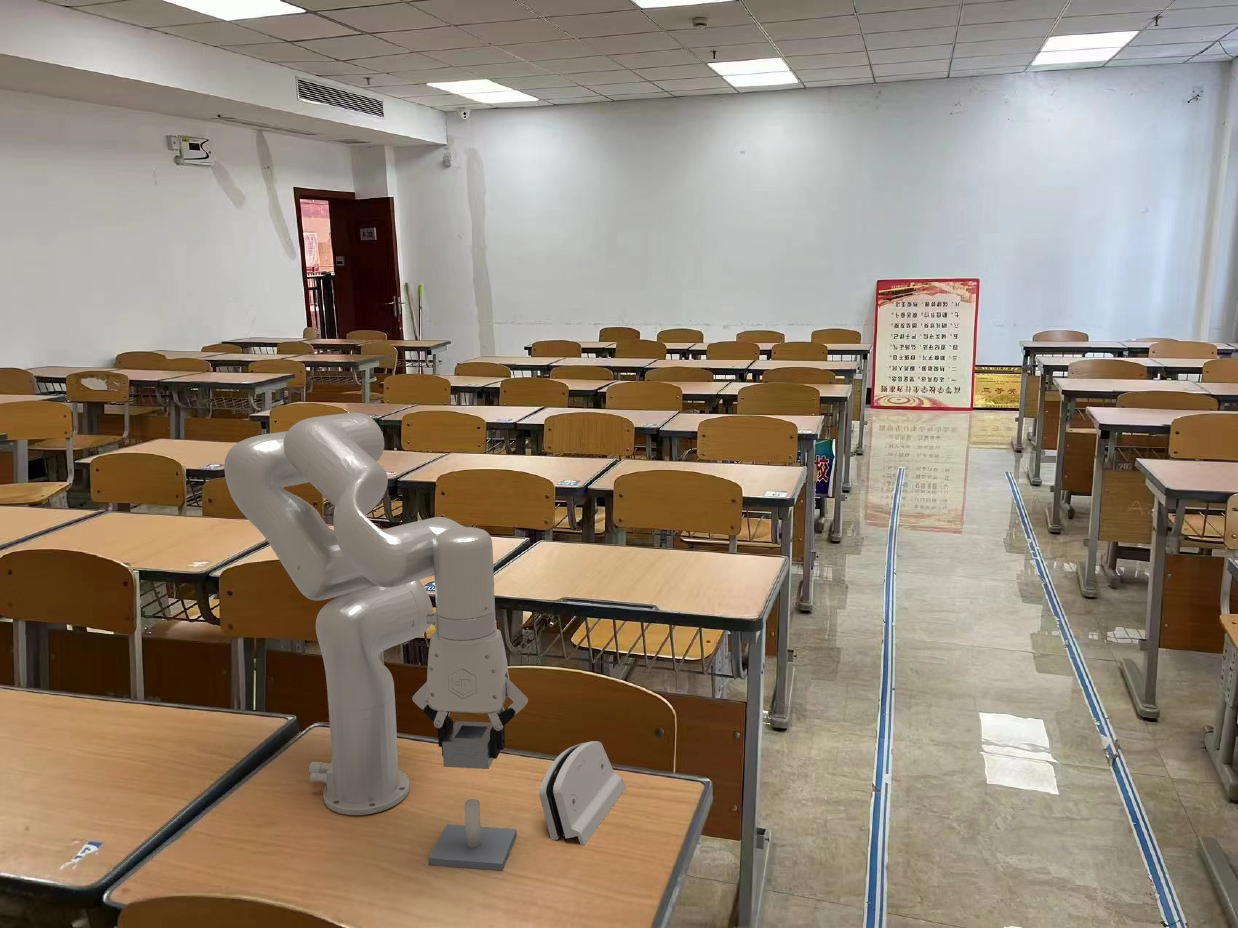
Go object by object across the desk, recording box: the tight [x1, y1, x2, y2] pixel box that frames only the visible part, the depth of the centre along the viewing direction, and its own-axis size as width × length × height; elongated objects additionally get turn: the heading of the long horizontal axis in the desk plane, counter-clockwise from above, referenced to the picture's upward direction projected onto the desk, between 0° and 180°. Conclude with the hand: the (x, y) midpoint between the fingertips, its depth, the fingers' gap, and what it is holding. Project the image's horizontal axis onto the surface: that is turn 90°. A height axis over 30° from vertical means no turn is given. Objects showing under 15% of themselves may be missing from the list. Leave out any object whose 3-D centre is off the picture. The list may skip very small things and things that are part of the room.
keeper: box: [428, 798, 518, 872], centre depth 126 cm, size 10×8×7 cm
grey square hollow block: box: [442, 720, 495, 770], centre depth 124 cm, size 6×6×4 cm
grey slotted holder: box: [538, 740, 627, 846], centre depth 136 cm, size 17×5×10 cm, turn 159°
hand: (472, 751), depth 124 cm, fingers closed on grey square hollow block, 6 cm apart
